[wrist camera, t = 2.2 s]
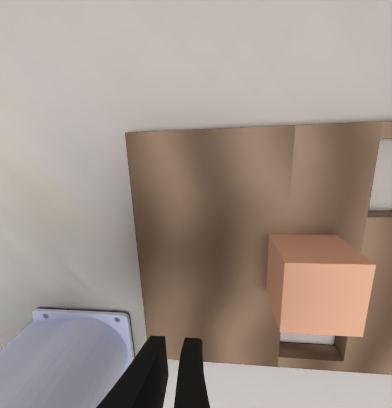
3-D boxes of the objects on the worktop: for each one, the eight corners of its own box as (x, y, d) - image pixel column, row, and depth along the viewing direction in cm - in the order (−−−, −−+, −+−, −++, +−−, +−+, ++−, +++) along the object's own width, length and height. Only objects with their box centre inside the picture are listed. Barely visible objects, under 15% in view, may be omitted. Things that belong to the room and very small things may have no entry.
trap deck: (153, 343, 21) (149, 357, 20) (133, 133, 16) (124, 132, 15) (448, 361, 18) (467, 380, 17) (524, 117, 14) (559, 113, 12)
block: (266, 290, 17) (279, 332, 13) (269, 234, 16) (284, 262, 12) (329, 292, 16) (362, 337, 13) (336, 234, 15) (376, 264, 11)
